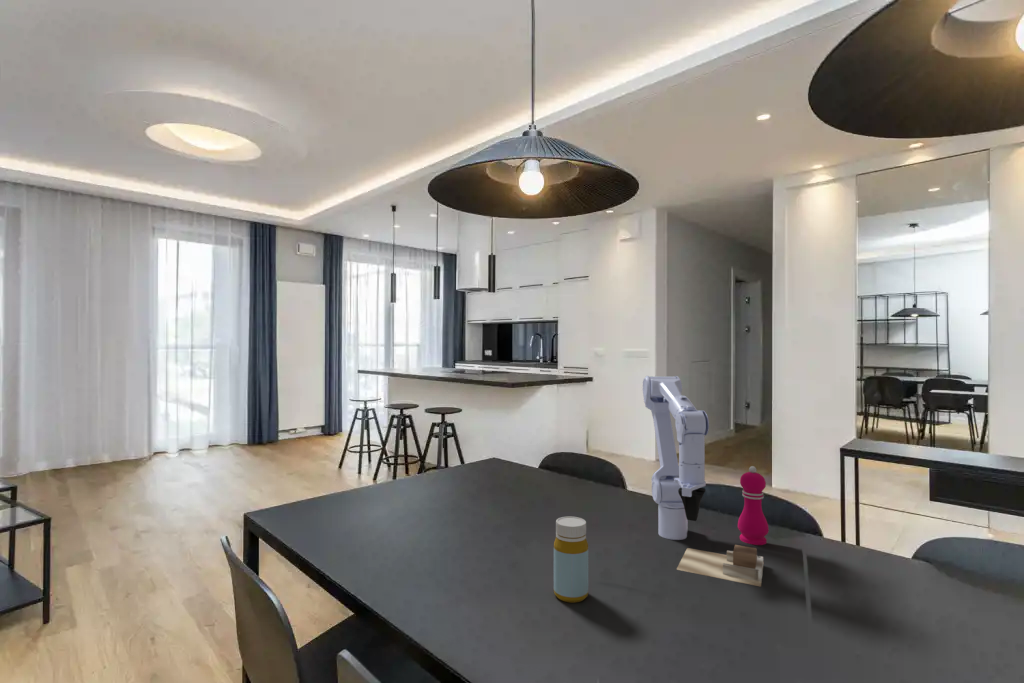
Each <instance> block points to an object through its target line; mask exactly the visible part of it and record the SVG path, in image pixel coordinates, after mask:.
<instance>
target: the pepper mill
mask: <svg viewBox="0 0 1024 683" xmlns="http://www.w3.org/2000/svg"><path fill="white" fill-rule="evenodd" d="M739 483H740V487H742V491H741V492H742V495H741V496H742V497H743V498H744V499H743V500H744V504H743V509H742V512H741V513H740V515H739V517H738V521H737V529H738V530H739V532H740V535H739V540H740V541H741V542H742V543H746V544H749V545H752V546H753V545H755V546H763V545H766V544H767V540H768V539H767V538H766V536H767V535H768V534H769V532H770V531H769V530H770V529H769V524H768V521H767V518H766V516H765V515H764V512H763V508H762V507H763V506H762V501H763V499H764V490H765V488H766V485H767V484H766V483H767V482H766V479H765V477H764V476H763V475H762V474H761V473H759V472H757V468H756V466H754V465H751V466H750V467H749V468H748V471H747V472H744V473H743V474H742V475H741V476H740V480H739Z"/></svg>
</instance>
